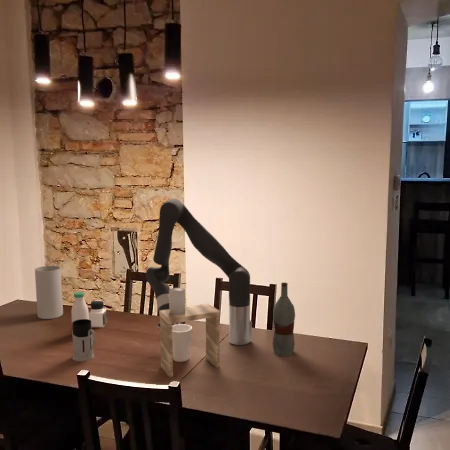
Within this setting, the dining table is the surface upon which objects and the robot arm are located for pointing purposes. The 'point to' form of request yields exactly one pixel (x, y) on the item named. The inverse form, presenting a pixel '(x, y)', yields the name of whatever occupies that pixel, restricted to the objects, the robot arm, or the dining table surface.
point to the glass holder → (82, 340)
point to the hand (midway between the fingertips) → (176, 343)
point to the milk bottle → (79, 308)
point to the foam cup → (181, 341)
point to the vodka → (283, 324)
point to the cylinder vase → (49, 292)
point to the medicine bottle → (97, 314)
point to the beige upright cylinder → (177, 301)
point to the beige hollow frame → (190, 315)
